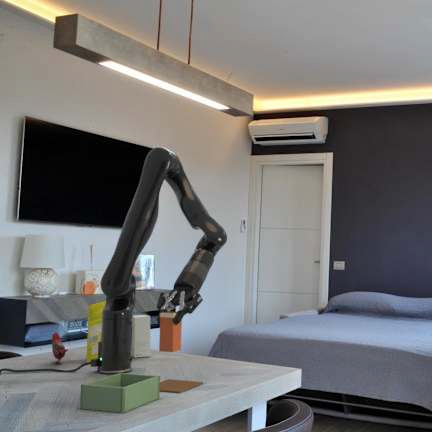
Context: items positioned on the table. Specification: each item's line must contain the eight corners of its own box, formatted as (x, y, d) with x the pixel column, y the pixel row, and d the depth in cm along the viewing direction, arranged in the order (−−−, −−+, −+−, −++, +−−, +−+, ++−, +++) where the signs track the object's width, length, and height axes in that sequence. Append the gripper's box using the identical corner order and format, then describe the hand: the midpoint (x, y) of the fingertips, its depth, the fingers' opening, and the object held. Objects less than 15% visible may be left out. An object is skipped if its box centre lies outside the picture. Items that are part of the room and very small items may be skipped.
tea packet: (158, 351, 171) (159, 312, 171) (167, 349, 174) (168, 311, 175) (172, 352, 169) (173, 313, 170) (181, 349, 173) (182, 312, 174)
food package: (102, 355, 219) (104, 301, 220) (105, 355, 219) (107, 301, 220) (84, 363, 204) (87, 305, 205) (88, 363, 204) (90, 305, 205)
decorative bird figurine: (57, 359, 210) (58, 331, 210) (71, 368, 197) (72, 337, 197) (48, 360, 208) (49, 332, 208) (62, 369, 195) (63, 338, 195)
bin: (79, 408, 149) (80, 384, 150) (119, 394, 164) (120, 372, 164) (122, 412, 146) (123, 388, 146) (159, 398, 160) (160, 375, 161)
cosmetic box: (150, 356, 218) (151, 316, 219) (133, 358, 215) (134, 317, 215) (145, 353, 225) (146, 313, 226) (128, 354, 222) (130, 314, 222)
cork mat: (142, 389, 169) (142, 388, 169) (168, 380, 181) (168, 379, 181) (179, 393, 166) (179, 391, 166) (203, 383, 178) (203, 382, 178)
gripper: (216, 287, 183) (193, 332, 171) (176, 286, 187) (151, 329, 175) (207, 270, 178) (183, 315, 166) (166, 269, 182) (139, 313, 170)
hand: (166, 322), depth 171 cm, fingers closed on tea packet, 4 cm apart
